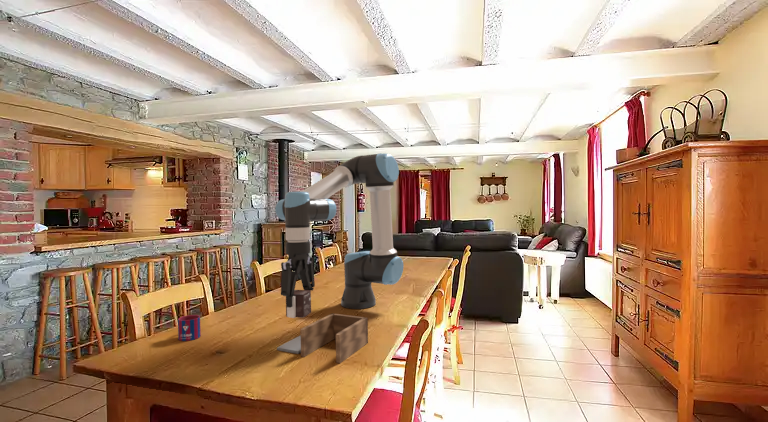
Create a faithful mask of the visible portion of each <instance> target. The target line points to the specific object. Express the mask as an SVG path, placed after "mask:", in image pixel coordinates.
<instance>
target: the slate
mask: <svg viewBox="0 0 768 422" xmlns="http://www.w3.org/2000/svg"><path fill="white" fill-rule="evenodd" d="M276 351H280V352H286V353H291V354H297V355H299V354H301V334H300V335H299V336H296V337H294V338H293V339H290V340H289V341H287V342H284V343H283V344H281V345H279V346H278V347H276Z"/></svg>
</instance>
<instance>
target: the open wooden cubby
mask: <svg viewBox="0 0 768 422" xmlns="http://www.w3.org/2000/svg"><path fill="white" fill-rule="evenodd" d="M368 320H369V319H368V317H365V316H356V315H350V314H349V315H347V314H341V313H340V314H339V313H330V314H328V315H326V316H324V317H322V318H320V319H318V320H316V321H314V322H312V323H310V324H308V325H306V326H303V327H302V328H300V335H301V353H300V357H303V358H305V357H307V356H308V355H310V354H311V353H312V354H313V352H314V351H316V350H318V349H319V348H322V347H323V346H325V345H326V344H327V343H330V342H331V341H333V340H335V363H336V364H342V363H343V362H345V360H347V359H348V358H349V357H351V356H352V355H354V354H355V353H357V352H358V351H359V350H360V349H362V348H363V347H364V346H366V345H367V344H369V325H368V323H369V321H368Z"/></svg>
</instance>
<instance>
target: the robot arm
mask: <svg viewBox="0 0 768 422" xmlns="http://www.w3.org/2000/svg"><path fill="white" fill-rule="evenodd" d="M399 168H400V167H399V165H398V162H397V160H396V158H395V157H394V156H393V155H392V154H390V153H375V154H364V155H357V156H354V157H352V158H350V159H348V160H346V161H344V162H342V163H341V164H339V165H338V166H336V167H335V168H334V170H333V172H331V173H330V174H328V175H326V176H325V177H323V178H322V179H320V180H318V181H317V182H315V183H313V184H311V185H310V186H309V187H307V188H305V189H304V190H302V191H287V192H286V193H285V197H284V198H283V199H280V200H279V201H277V203H276V204H275V207H274V210H275V215H276V216H277V219H279V220H282V221H284V224H285V227H284V228H285V240H286V242H285V254H286V255H287V256H288V257H287V261H285V262H281V263H280V266H281V283H280V284H281V285H280V296H283V297H285V308H286V307H287V317H286V318H290V319H291V318H292V319H295V318H297V317H296V300H295V296H293V295H294V290H296V289H295V288H296V285H297V284H296V283H297V280H298V275H299V277H300V280H301V285H302V288H303V289H302V290H311V292H312V291H314V288H315V286H316V285H315V281H316V280H315V272H314V271H315V270H314V261H315V258H314V257H309V256H308V255H309V254H310V253H311V242H310V241H309V240H311V222H319V221H320V222H322V221H324V222H325V221H326V222H327V221H330V220H332V219H334V218H335V217H336V214H337V204H336V202H335V201H334V200H333V199H330V198H331V197H332V196H334V194H336V193H338V192H339V191H341V190H342V189H344V188H349V187H352V186H353V185H357V184H365V188H366V189H367V190H368V191H369V201H370V202H369V203H370V205H369V206H370V220H371V221H370V222H371V238H372V239H371V240H372V242H371V243H372V249H371V250H365V251H364V250H363V251H356V252H350V253H346V255H344V263H343V265H344V290H343V293H342V297H341V301H340V302H341V303H340V306H341V307H342V308H345V309H351V310H352V309H355V310H357V309H358V310H361V309H368V308H372V307H375V306H376V303H377V301H376V295H375V293H374V290H373V287H372V283H373V284H381V285H385V286H387V285H389V286H391V285H395V284H397V283H398V282H399V281H400V279H401V278H402V275H403V272H404V261H403V259H402V257H399V255H398V251H397V249H396V248H394V239H393V237H394V235H393V216H392V214H393V213H392V197H391V190H392V189H393V188H394V186H395V185H394V184H395V182H396V181H397V180H398V178H399V174H400V169H399Z"/></svg>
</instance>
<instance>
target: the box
mask: <svg viewBox="0 0 768 422" xmlns="http://www.w3.org/2000/svg"><path fill="white" fill-rule="evenodd" d="M311 293H312V291H311V290H304V289H295V290H294V295H293V296H295V300H296V318H300V319H301V318H303V319H304V318H306V317H307V316H309V315H310V314H311V313H312V294H311ZM285 316H286V318H288V317H287V307H286V306H285Z"/></svg>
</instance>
